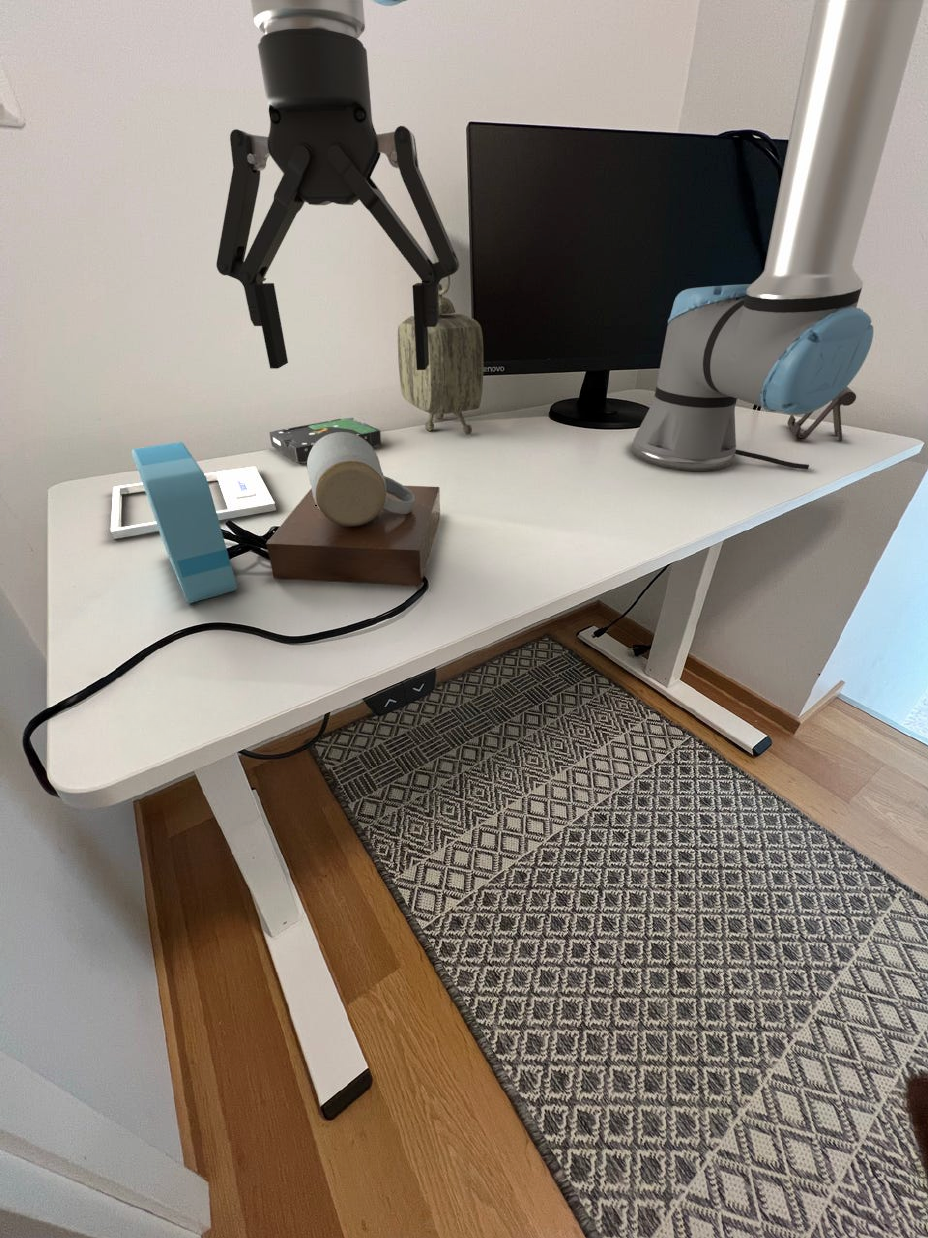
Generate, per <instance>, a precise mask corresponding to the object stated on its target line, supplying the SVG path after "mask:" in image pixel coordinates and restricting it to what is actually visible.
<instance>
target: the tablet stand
mask: <svg viewBox="0 0 928 1238" xmlns="http://www.w3.org/2000/svg"><path fill="white" fill-rule="evenodd" d="M856 399H857V395H856V393H855V392H854V391H853V390H852V389H851V388H850V387H849V386H847V387H846V388H845V389H843V390H842V391H841V392H840V393H839V394H838V396H837V397H836V398H834V399H833V400H832V401H830V402H829V403H830V404H829V405H827V406H826V408H824V410H823V411H822V412H821V413H820V414H819V415H818V417H817V418H816V419H815V420H814V421H813V422H812V424H811V425H810V426H809V427H808V428H807V429H805V430H804V431H803V429H802V425H803V424H804V423H805V422H806V421H807V420H808V419H809V417H810V416H811V415H812V414H813V413H814V412H815V411H813V412H810V413H807V414H803V415H802V417H801V418H800V419H799V420H798V421H796V418H795V415H791V414H790V416H789V418H788V420H787V423H786V424H787V426H788V428H789V429H790V432H791V433H792V435H793V437H794V439H795V440H796V441H798V442H802V441H805V440H806V439H807V438H808V437H809V436H810V435H811V434H812V433H813V431H814V430H816V428H817V427H818V426H819V425H820V424H821V423H822V421H824V419H825V418H826V417H827V416H828V415H829V413H830V412H831V411H832V417H833V418H832V419H833V420H832V421H833V433H834V435H835V437H838V441H839V442H842V441H843V431H842V417H841V416H842V414H841V406H845V407H847V406H851V405H852V404H854V403H855V402H856Z"/></svg>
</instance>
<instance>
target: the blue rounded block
mask: <svg viewBox="0 0 928 1238" xmlns="http://www.w3.org/2000/svg"><path fill="white" fill-rule="evenodd" d="M131 455H132V457H133V460H134V464H135V466H136V469H137V472H138V475H139V478H140V481H141V483H143V486H144V489H145V491H144V492H145V494H146V495H145V496H146V497H147V500H148V504H149V506H150V508H151V512H152V514H153V518H154V520H155V522H156V523H157V526H158V529H159V531H158V532H159V535H160V537H161V540H162V544H163V546H164V548H165V551H166V554H167V557H168V559H169V562H170V564H171V567H172V569H173V572H174V574H175V576H176V579H177V581H178V583H179V584H178V585H179V586H180V588H181V591H182V594H183V596H184V598H185V600H186V603H188V604H192V603H195V602H196V603H197V602H200V601H203V600H206V599H210V598H213V597H217V596H221V595H224V594H228V593H231V592H235V591H237V588H238V587H237V585H238V584H237V581H236V578H235V574H234V570H233V567H232V563H231V559H230V556H229V552H228V548H227V545H226V542H225V537H224V534H223V531H222V527H221V523H220V520H218V516H217V513H216V511H217V510H216V509H217V508H216V505H215V502H214V499H213V495H212V491H211V488H210V486H209V481H208V482H207V479H206V477H205V475H204V474H205V473H204V471H203V469H202V468H201V466H200V465H199V464H198V463H197V461H196V460H195V458H194V457H193V455H192V454H191V452H190V451H189V450H188V448H187V447H186V445H185V444H184V442H183V441H178V442H170V443H165V444H158V445H152V446H143V447H137V448H133V449H132V450H131Z"/></svg>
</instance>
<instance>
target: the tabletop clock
mask: <svg viewBox="0 0 928 1238" xmlns="http://www.w3.org/2000/svg"><path fill="white" fill-rule="evenodd" d="M437 262H438V261H437ZM437 262H436V261H435V262H432V263H433V264H435V263H437ZM450 287H451V275H449V276H447V277H446V286H445V287H444V288H443V285H442V284H441V283H439V285H438V296H439V320H438V323H437V325H436V326H435V327H428V350H429V365H428V366H427V368H426V369H425V370H417V363H416V344H415V325H414V315H411V316H409V317H407V318H405V320H404V321H403V322H401V323H400V324H399V325H398V326H397V356H398V357H397V358H398V359H397V360H398V371H399V372H398V373H399V383H400V390H401V395H402V397H403V399H404V401H406V402H407V403H409V404H411V406H414V407H415V408H417V409H419V410H421V411H424V412H425V413H429V419H428V421H427V422H426V423H425V424H424V428H425V430H426V431H427V432H432V431H433V430H434V429H435V423H434V422H433V420H434V417H435V419H436V420H442V419H443V418H444V415H449V414H453V415H454V416H456V417H457V418H458V420H459V421H460V423H461V424H462V425H463V428H462V432H463V434H465V435H470V434H472V432H473V427H472V425H470V424H467V423H466V420H465V418H464V416H463V413H462V412H467V411H468V412H469V411H475V410H479V409H480V407H481V403H482V396H483V387H484V373H485V372H484V371H485V366H484V365H485V363H484V362H485V361H484V357H485V356H484V355H485V354H484V336H483V330H482V326H481V325H480V323H479V321H477V320H476V319H474V318H472V317H469V316H468V315H465V314H462V313H457V312H456V308H455V307H454V304H453V302H452V301H451V300H450V299H449V298H448V297H445V296H444V295H445V294H446V293H448V292H449V289H450Z"/></svg>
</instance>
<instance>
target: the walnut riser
mask: <svg viewBox="0 0 928 1238" xmlns="http://www.w3.org/2000/svg"><path fill="white" fill-rule="evenodd" d="M404 486H405V487H406V488H407V489H409V490H410V491H411V492H412V493H413V495H414V497H415V502H414V505H413V507H412V510H411V511H410V512H409V513H408V514H395V513H390V512H387V511H385V510H381V511H380V513H379V514H378V515H377V516H376V517H375V518H374V519H373V520H371V521H370V522H368V523H366V524H363V525H360V526H350V527H347V526H342V525H338V524H336V523H334V522H332V521H330V520H329V519H328V518H326V517H325V516H324V515H323V514H322V512H321V511H320V509H319V508H318V507H317V506H315V505H316V503H315V500H314V497H313V493H312V488H311V487H310V489H309V490H308V492H307V493H306V494H305V495H304V496H303V498H302V499H301V500H300V501H299V503H298V504H297V505H296V506H295V507H294V509H293V510H292V511H291V512H290V514H289V515H288V516H287V517H286V519H285V520H284V521H283V522H282V524H280V526H279V527H278V528H277V530H276V531H275V532H274V533H273V534H272V536H271V537H270V538H269V539H268V540H267V542H266V543H265V544H266V545H265V546H266V550H267V554H268V558H269V562H270V567H271V571H272V576H273V579H275V580H290V581H293V580H294V581H314V582H332V583H333V582H334V583H351V584H352V583H353V584H373V585H390V586H391V585H392V586H395V585H396V586H411V587H412V586H414V587H415V586H416V587H422V585H423V581H424V577H425V574H426V570H427V566H428V562H429V559H430V555H431V552H432V548H433V546H434V541H435V537H436V534H437V530H438V526H439V523H440V519H441V498H440V497H441V496H440V492H441V491H440V486H424V485H404ZM386 495H387V497H389V498H393V499H397V500H400V499H399V498H397V497H395V496H394V495H392V494H390V493H388V492H386ZM401 501H402V500H401Z"/></svg>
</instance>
